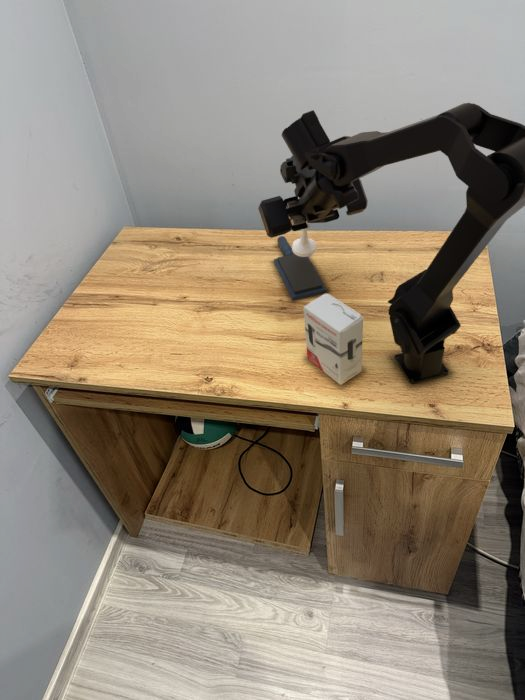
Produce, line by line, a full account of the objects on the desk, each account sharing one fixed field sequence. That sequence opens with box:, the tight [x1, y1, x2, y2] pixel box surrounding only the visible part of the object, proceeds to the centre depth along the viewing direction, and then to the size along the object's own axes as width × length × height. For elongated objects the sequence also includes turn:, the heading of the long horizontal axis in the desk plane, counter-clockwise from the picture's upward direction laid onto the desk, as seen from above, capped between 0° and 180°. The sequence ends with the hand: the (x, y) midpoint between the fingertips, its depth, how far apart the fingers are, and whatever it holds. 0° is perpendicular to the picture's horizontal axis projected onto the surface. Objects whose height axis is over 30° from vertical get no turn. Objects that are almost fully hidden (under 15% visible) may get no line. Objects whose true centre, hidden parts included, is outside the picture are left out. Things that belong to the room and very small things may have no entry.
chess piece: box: [291, 221, 317, 258], centre depth 96 cm, size 5×5×10 cm
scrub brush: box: [273, 235, 328, 301], centre depth 104 cm, size 21×7×2 cm, turn 14°
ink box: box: [302, 292, 364, 386], centre depth 79 cm, size 8×5×12 cm, turn 37°
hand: (302, 221), depth 95 cm, fingers closed on chess piece
